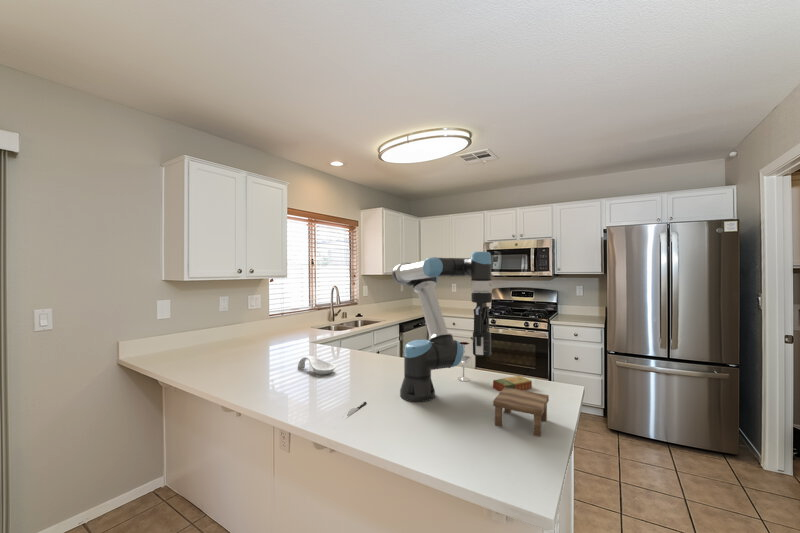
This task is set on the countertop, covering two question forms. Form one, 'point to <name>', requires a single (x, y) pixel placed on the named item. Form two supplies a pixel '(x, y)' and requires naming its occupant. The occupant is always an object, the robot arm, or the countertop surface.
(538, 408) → the footstool
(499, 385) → the carton
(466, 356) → the wineglass
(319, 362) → the spoon rest
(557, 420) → the countertop surface
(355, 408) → the chef's knife
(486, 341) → the supplement bottle
